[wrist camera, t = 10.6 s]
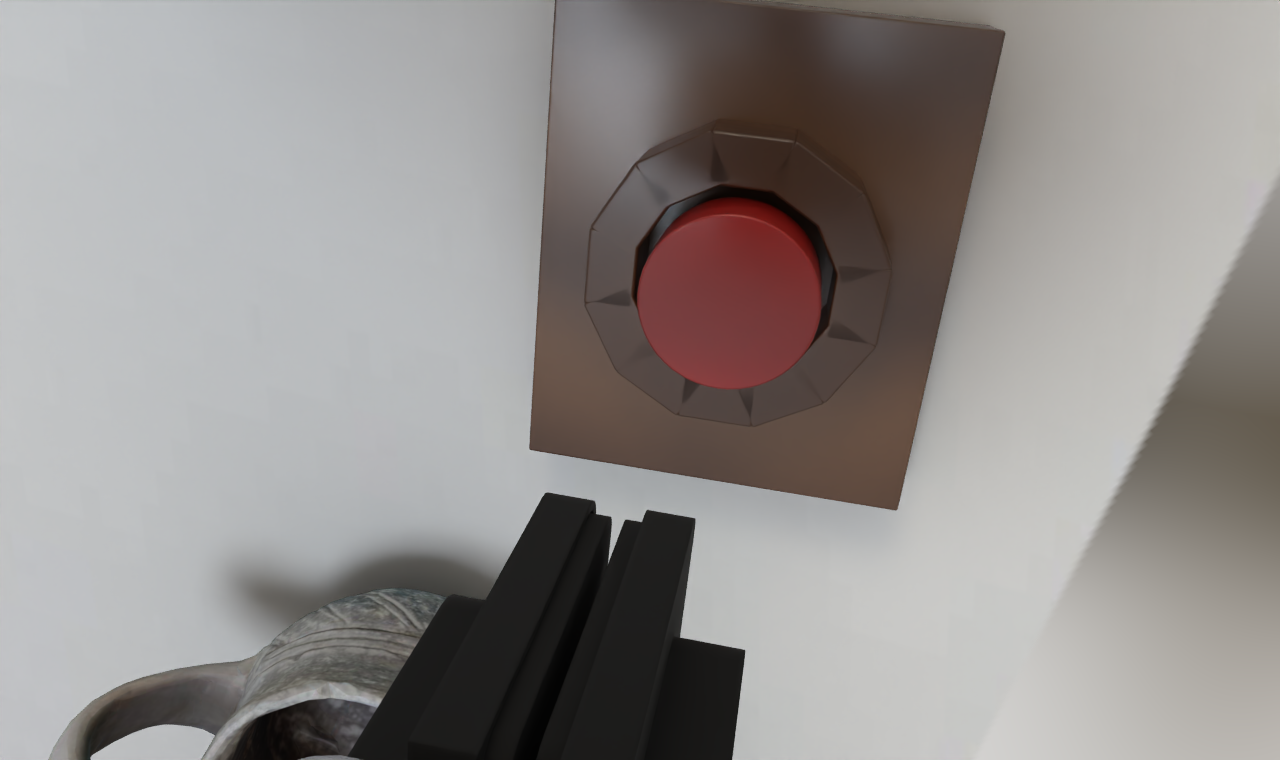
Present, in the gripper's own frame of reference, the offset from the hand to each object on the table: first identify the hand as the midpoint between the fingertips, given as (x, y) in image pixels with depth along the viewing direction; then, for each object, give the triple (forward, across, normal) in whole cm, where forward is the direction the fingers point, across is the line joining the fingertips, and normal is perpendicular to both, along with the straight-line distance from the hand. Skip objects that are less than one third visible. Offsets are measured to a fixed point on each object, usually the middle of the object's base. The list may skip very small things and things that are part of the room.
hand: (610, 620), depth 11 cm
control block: (+17, 0, 0) cm, 17 cm away
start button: (+13, 0, 0) cm, 13 cm away
